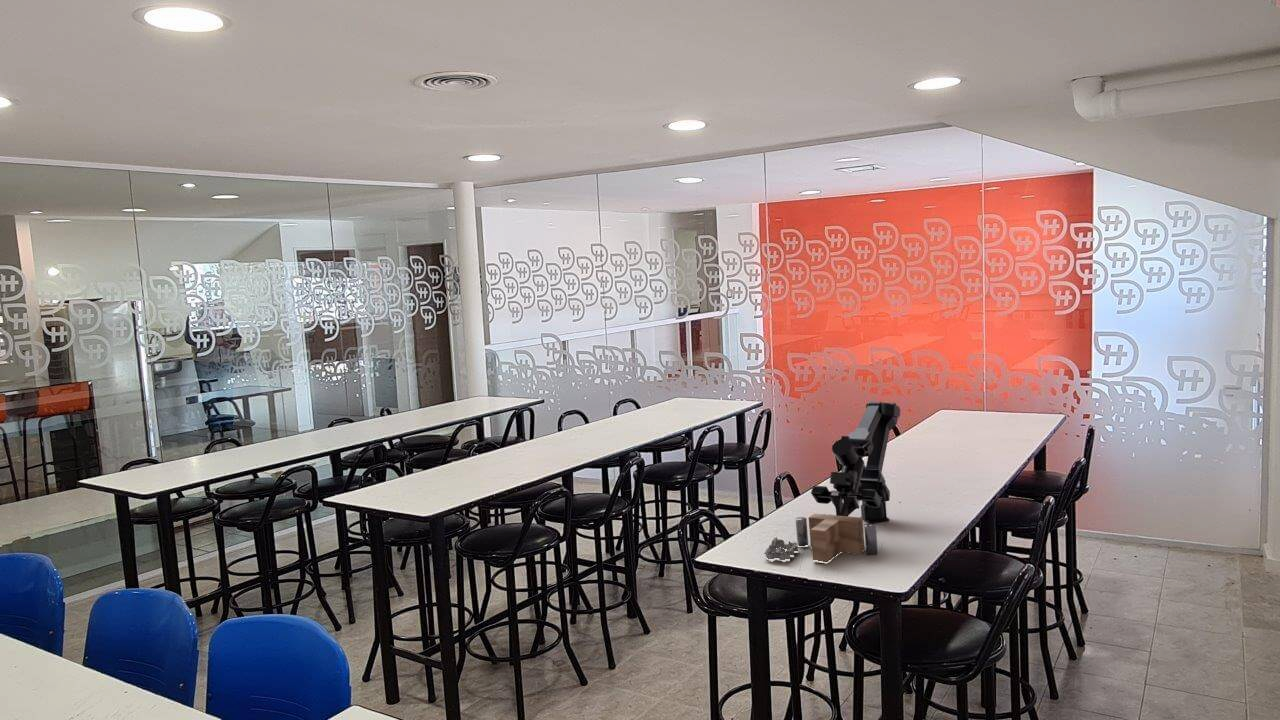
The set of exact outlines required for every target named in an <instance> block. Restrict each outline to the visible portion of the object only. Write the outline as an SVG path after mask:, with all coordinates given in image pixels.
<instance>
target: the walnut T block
mask: <svg viewBox="0 0 1280 720" xmlns="http://www.w3.org/2000/svg"><path fill="white" fill-rule="evenodd" d="M863 522H864V520H863V519H862V518H861V516H860V517H858V516H850V515H849V516H837V515H835V514H823V513H813V514H812V515H810V516H809V517H808V528H809V541H810V543H809V544H810V548H811V547H812V549H811V550H812V551H811V552H812V554H811V555H812V561H813V560H818V561H823V562H828V561H829V560H831V559H832V558H833V557H835V556H836V555H837V554H839V553H840V552H849V553H848V554H851V553H856V554H855V555H861V554H862V553H863V552H864V551H865V550H866V545H865V531H864V523H863ZM864 549H865V550H864ZM863 550H864V551H863ZM862 551H863V552H862ZM861 552H862V553H861ZM860 553H861V554H860ZM840 554H841V553H840ZM840 554H839V555H840Z"/></svg>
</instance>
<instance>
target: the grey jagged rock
mask: <svg viewBox="0 0 1280 720" xmlns="http://www.w3.org/2000/svg"><path fill="white" fill-rule="evenodd" d="M780 547H781V548H780ZM776 548H777V549H776ZM783 548H784V549H787V551H786V552H785V551H784V549H783ZM794 551H798V552H799V547H798V542H796V541H794V542H792V541H788V543H785V540H783V539H781V538H780V539H779V538H778V536H776V537H774V538H773V539H772V541H771V544H769V546H767V548H766V549H765V552H764V553H763V554H764V555H765V557H767V558H768V559H774V558H779V559H780V560H785V559H790V555H794V556H795V554H794Z"/></svg>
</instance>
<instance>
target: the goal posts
mask: <svg viewBox="0 0 1280 720" xmlns="http://www.w3.org/2000/svg"><path fill="white" fill-rule="evenodd" d="M795 527H796V540H797V542H796V543H798V545H799V546H805V545H808V544H809V533H808V521H807V517H803V516H801V517H795ZM863 529H864V543H865V552H866V553H865V554H866V555H867V556H869V555H875V556H878V555H879V550H878V537H877V536H878V535H877V534H878V533H877V525H876V523H868V522H867V523H865V524H863ZM798 545H797V546H798ZM877 554H878V555H877Z"/></svg>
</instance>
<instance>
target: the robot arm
mask: <svg viewBox="0 0 1280 720" xmlns="http://www.w3.org/2000/svg"><path fill="white" fill-rule="evenodd" d="M900 416H901V407H900V406H899V405H897V403H895V402H883V401H868V402H866V405H865V411H864V413H863V415H862V417H861V419H860V421H859V424H858V426H857V428H856V429H854V430H853V431H852V432H850V433H849V434H848V435H842V436H841V437H840V439H838V440H836V441H835V442H834V443H833V444H832V448H831V452H832V453H833V454H834V457H835V458H836V460H837V461H838V462H839V465H842V468H841V471H831V472H830V478H829V479H830V480H829V484H831V485H833V489H834V490H833V489H831V490H829V489H828V487H827V486H825V485H814V486H813V487H812V488H811V491H810V494H811V496H812V497H813V498H814V500H815V501H816V503H818V504H824V505H828V504H830V503H831V502H832V504H833V505H834V507H835V508H834V509H835V514H836V515H837V516H849V517H850V515H851V514H852V513H853V512H854V511H855V510H857V509H860V513H861V515H860V518H862V519H863V521H866V522H867V523H873V524H875V523H879V522H886V521H890V518H889V517H887V515H888V514H887V504H886V503H887V502H889V501H890V498H891V491H890V490H889V488H888V486H887V484H886V480H885V477H884V475H883V467H884V461H885V457H886V452H887V451H886V450H887V445H888V441H889V435H890V431H892V429H894V427H896V426H897V423H898V420H899V417H900ZM862 457H864V458H865V457H867V461H866V465H865V460H864V459H863V458H862ZM860 502H861V504H860Z"/></svg>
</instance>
